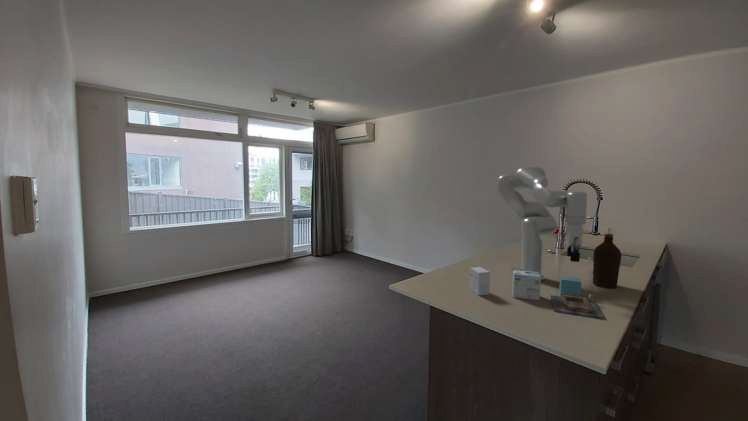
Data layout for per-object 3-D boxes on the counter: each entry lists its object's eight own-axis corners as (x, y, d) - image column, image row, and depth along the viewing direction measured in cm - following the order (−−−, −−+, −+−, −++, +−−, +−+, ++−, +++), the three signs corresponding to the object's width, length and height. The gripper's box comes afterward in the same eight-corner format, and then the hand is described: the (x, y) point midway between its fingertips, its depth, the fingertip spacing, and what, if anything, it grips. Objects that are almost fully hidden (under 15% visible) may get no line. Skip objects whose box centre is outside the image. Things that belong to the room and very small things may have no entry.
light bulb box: (537, 295, 138) (539, 271, 137) (540, 301, 132) (541, 276, 130) (511, 292, 142) (512, 269, 140) (512, 297, 135) (513, 273, 134)
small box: (489, 294, 138) (490, 271, 137) (478, 295, 137) (479, 272, 136) (479, 288, 146) (480, 266, 145) (469, 289, 145) (469, 267, 144)
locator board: (554, 311, 122) (555, 302, 121) (550, 296, 136) (551, 288, 136) (604, 319, 115) (605, 309, 115) (594, 303, 129) (595, 294, 129)
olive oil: (624, 289, 145) (629, 236, 142) (601, 289, 145) (605, 236, 142) (607, 281, 155) (611, 232, 152) (586, 281, 155) (590, 232, 152)
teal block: (560, 294, 139) (561, 279, 138) (559, 291, 143) (560, 276, 142) (580, 297, 135) (581, 282, 135) (578, 293, 140) (579, 278, 139)
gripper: (562, 217, 144) (560, 253, 146) (568, 222, 129) (565, 262, 131) (581, 218, 141) (579, 255, 143) (589, 223, 126) (587, 264, 127)
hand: (572, 258), depth 137 cm, fingers open, 9 cm apart
